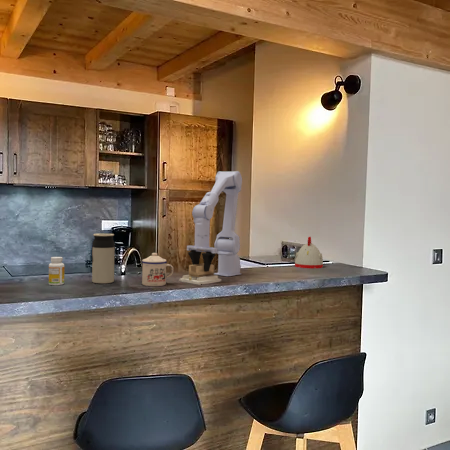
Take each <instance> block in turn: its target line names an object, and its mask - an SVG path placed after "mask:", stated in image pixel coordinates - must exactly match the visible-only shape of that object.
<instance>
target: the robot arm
mask: <svg viewBox="0 0 450 450" xmlns="http://www.w3.org/2000/svg"><path fill="white" fill-rule="evenodd" d="M242 177H243V176H242V174H241V171H239V170H236V171H234V170H233V171H220V170H219V171H217V172H216V174H215V178H214V179H215V183H214V185H213V187H212V188H211V189H210V191H208V192H206V193H205V195H204V196H203V198H202V199H201V200H200V202H199V204H196V205H195V206H194V207H193V209H192V211H191V213H192V214H191V215H192V218H193V224H194V245H186V251H188V252H187V254H188V256H189V258H190V260H191V265H196V264H200V259H201V257H202V260H203V264H204V271H205V272H206V271H209V269H210V265H212V262H213V260H214V259H215V257H216V255H218V258H217V259H218V260H217V261H218V263H217V264H218V265H217V272H214V275H217V276H224V277H231V276H233V277H234V276H239V275H242V272H241V258H240V256H239V255H238V253H239V251H240V248H241V241H240V239H241V238H240V236H239V234H237V233H236V232H235V227H236V218H237V217H236V216H237V209H238V200H239V193H240V192H241V191H242V186H243V178H242ZM222 192H223V193H225V205H224V212H223V222H222V230H221V231H220V232H219V233H218V234H216V239H215V241H214V247H213V246H212V247H211V246H210V234H211V233H210V231H211V230H210V228H211V227H210V225H211V224H210V223H211V220H212V218H213V216H214V211H215V207H216V205H217V204H218V202H219V200H220V199H219V196H220V194H221V193H222Z"/></svg>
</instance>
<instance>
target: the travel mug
mask: <svg viewBox="0 0 450 450" xmlns="http://www.w3.org/2000/svg"><path fill="white" fill-rule="evenodd" d="M114 236H115V234H114V233H93V238H94V239H93V241H92V249H91V250H92V263H91V264H92V265H91V266H92V267H91V272H92V273H91V282H92V283H94V284H105V285H106V284H111V283H113V282H115V247H116V246H115V241H114Z"/></svg>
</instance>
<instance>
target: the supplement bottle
mask: <svg viewBox="0 0 450 450" xmlns="http://www.w3.org/2000/svg"><path fill="white" fill-rule="evenodd" d="M63 260H64V258H63V257H62V256H51V257H50V263H49V264H48V285H49V286H62V285H64V284H65V263H63Z"/></svg>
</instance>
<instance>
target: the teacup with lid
mask: <svg viewBox="0 0 450 450" xmlns="http://www.w3.org/2000/svg"><path fill="white" fill-rule="evenodd" d="M141 263H142V273H141V276H142V277H141V281H142V282H141V284H142V285H143V286H145V287H163V286H165V285H166V284H167V278H170V277H171V276H172V275H173V273H174V266H173V265H172V264H169V263H168V262H167V259H165V258H162V257H161V256H160V255H158V253H157V252H152V253H151V255H150V256H148V257H146V258H143V259H142V260H141ZM167 267H169V268H170V272H169V274H167Z"/></svg>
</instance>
